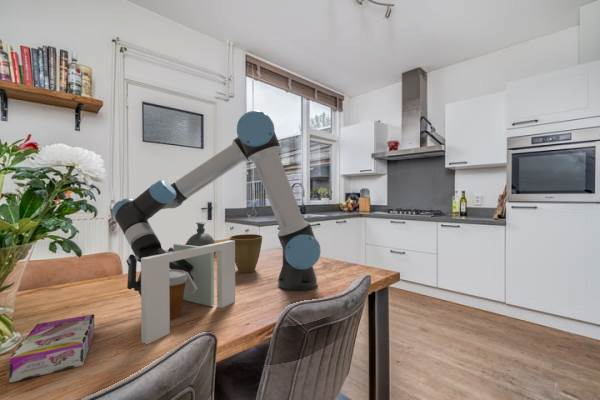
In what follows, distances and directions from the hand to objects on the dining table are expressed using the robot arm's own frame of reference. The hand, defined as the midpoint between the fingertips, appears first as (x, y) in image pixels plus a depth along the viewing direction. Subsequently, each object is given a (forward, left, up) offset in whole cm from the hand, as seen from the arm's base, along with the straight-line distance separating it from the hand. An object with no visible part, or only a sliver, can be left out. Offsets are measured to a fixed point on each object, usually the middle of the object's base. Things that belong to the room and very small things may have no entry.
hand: (176, 298), depth 79 cm
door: (+4, -11, -5) cm, 13 cm away
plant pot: (+6, -50, -6) cm, 51 cm away
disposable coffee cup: (+3, -1, -6) cm, 7 cm away
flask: (+29, -47, -6) cm, 56 cm away
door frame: (-6, -1, -6) cm, 8 cm away
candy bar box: (+17, +17, -3) cm, 25 cm away
